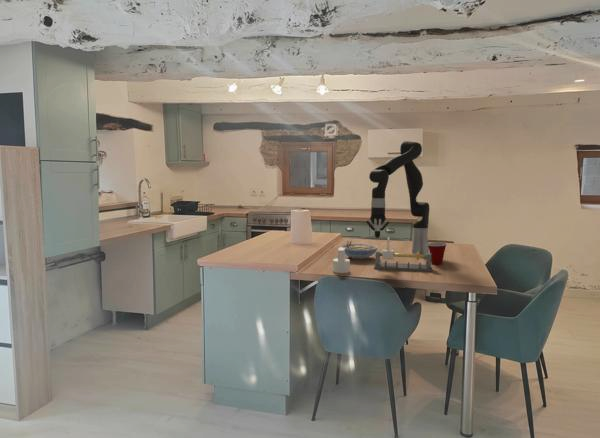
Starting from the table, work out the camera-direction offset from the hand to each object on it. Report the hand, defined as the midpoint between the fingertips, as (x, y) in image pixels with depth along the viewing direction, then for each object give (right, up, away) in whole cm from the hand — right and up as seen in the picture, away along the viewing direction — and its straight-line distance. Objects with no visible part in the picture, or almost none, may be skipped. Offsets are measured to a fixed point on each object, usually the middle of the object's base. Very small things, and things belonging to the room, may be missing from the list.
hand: (377, 237), depth 246 cm
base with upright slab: (-21, -18, -9) cm, 29 cm away
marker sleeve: (+6, -12, 0) cm, 13 cm away
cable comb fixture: (+14, -17, -1) cm, 21 cm away
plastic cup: (+35, -16, +10) cm, 40 cm away
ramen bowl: (-7, -14, +25) cm, 29 cm away
